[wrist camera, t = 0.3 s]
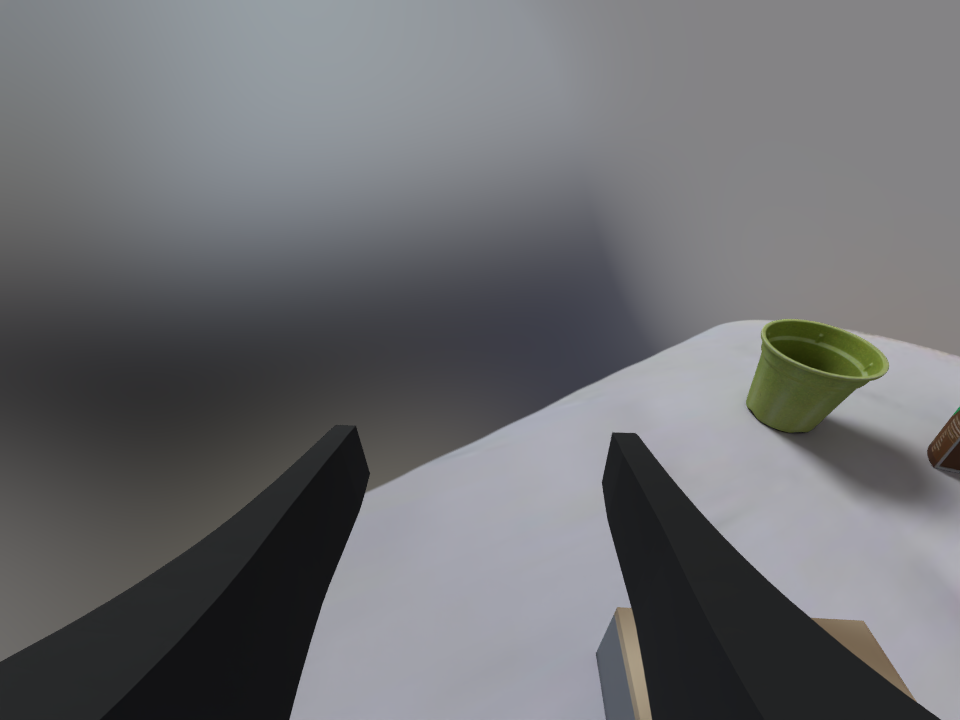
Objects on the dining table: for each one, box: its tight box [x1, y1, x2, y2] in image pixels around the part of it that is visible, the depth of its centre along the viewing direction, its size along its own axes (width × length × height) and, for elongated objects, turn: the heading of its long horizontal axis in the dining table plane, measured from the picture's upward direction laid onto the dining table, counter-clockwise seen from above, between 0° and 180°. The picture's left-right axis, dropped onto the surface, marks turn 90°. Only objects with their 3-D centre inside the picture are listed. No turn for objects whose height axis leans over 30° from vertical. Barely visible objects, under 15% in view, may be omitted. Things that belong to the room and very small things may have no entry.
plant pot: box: [746, 319, 889, 433], centre depth 37 cm, size 9×9×9 cm
